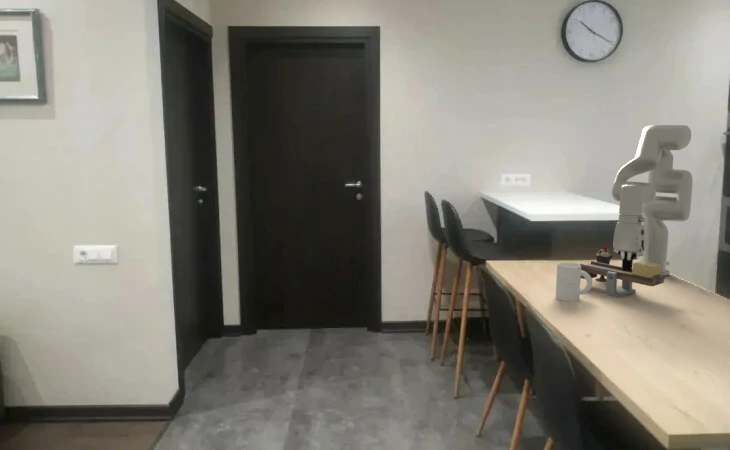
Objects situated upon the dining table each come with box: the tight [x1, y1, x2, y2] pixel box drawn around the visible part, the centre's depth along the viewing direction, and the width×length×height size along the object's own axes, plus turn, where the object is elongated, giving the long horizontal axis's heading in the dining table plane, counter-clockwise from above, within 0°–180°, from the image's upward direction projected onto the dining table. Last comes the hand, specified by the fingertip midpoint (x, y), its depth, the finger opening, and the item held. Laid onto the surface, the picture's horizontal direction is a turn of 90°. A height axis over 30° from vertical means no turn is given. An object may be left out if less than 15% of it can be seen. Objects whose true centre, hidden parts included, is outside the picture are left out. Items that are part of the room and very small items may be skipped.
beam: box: [579, 260, 665, 287], centre depth 224 cm, size 8×28×6 cm, turn 38°
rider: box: [632, 260, 661, 279], centre depth 215 cm, size 6×7×5 cm
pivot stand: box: [601, 267, 637, 299], centre depth 224 cm, size 12×6×8 cm, turn 128°
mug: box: [555, 262, 593, 302], centre depth 217 cm, size 8×12×12 cm
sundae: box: [594, 243, 614, 283], centre depth 242 cm, size 7×7×15 cm
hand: (626, 270), depth 221 cm, fingers closed
